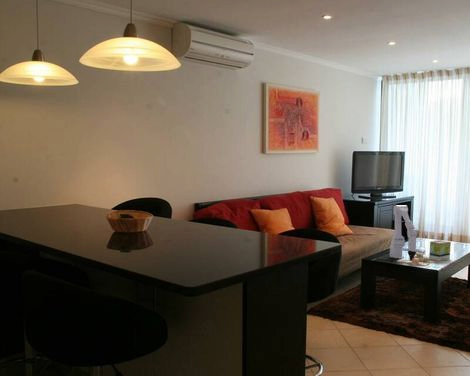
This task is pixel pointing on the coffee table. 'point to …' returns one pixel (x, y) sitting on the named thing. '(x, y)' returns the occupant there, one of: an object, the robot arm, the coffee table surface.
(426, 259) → the short block right
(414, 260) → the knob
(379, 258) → the coffee table surface
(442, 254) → the tea box
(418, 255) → the tall block middle
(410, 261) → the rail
